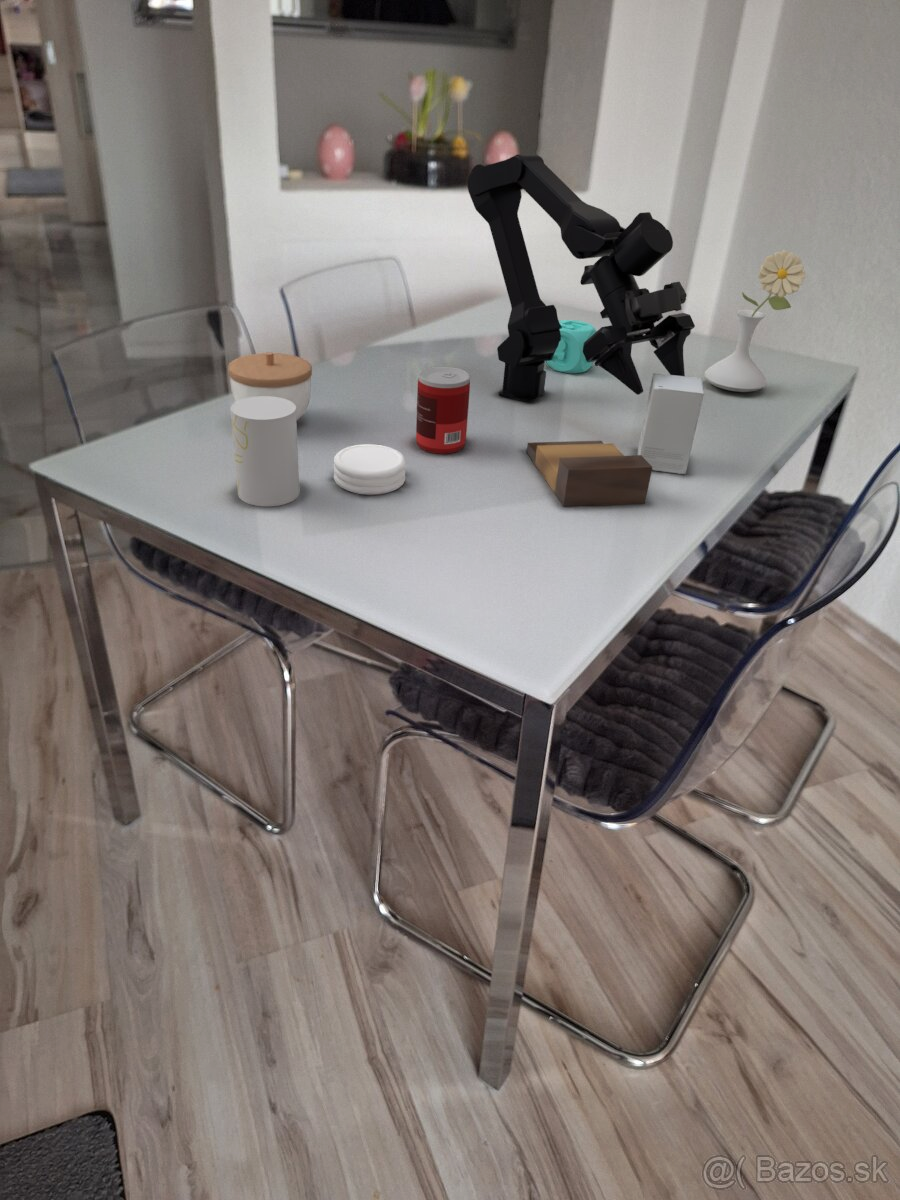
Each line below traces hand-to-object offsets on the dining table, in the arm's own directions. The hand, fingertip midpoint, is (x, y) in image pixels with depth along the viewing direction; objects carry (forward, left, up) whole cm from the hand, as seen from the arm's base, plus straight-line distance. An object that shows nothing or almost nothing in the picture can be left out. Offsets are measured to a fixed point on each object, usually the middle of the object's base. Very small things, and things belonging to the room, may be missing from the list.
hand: (661, 388), depth 127 cm
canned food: (-29, -15, -11) cm, 34 cm away
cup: (-40, -43, -11) cm, 60 cm away
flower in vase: (+4, +42, -11) cm, 44 cm away
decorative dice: (-27, +33, -11) cm, 44 cm away
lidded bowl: (-55, -23, -11) cm, 60 cm away
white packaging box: (+2, -1, -11) cm, 11 cm away
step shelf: (-6, -13, -11) cm, 18 cm away
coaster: (-31, -32, -11) cm, 46 cm away
